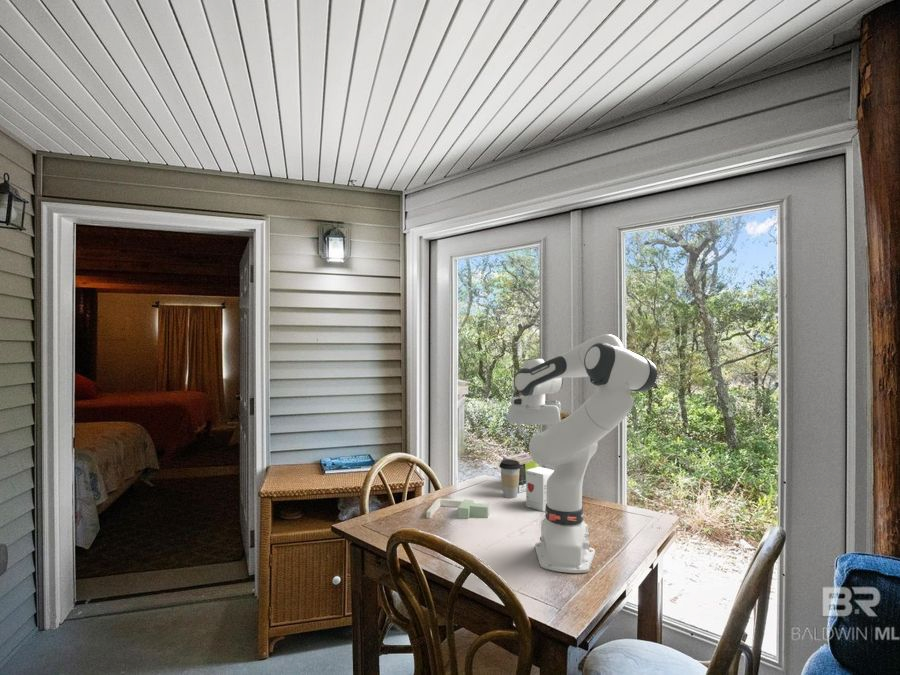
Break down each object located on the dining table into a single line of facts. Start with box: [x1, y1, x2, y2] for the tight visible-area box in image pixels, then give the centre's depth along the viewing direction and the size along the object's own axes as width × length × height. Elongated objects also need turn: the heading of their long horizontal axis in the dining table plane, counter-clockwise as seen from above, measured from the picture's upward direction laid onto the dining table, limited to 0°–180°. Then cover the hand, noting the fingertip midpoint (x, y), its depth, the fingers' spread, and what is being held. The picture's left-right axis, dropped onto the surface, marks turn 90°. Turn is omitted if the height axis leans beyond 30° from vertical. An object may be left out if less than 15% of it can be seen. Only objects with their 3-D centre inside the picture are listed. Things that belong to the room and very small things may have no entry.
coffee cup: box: [498, 459, 521, 499], centre depth 204 cm, size 9×9×15 cm
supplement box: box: [525, 466, 555, 512], centre depth 191 cm, size 9×9×15 cm
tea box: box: [502, 452, 540, 494], centre depth 217 cm, size 15×10×15 cm
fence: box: [426, 498, 464, 519], centre depth 185 cm, size 16×12×2 cm
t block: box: [457, 499, 490, 520], centre depth 182 cm, size 10×11×4 cm
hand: (533, 435), depth 180 cm, fingers open, 8 cm apart
